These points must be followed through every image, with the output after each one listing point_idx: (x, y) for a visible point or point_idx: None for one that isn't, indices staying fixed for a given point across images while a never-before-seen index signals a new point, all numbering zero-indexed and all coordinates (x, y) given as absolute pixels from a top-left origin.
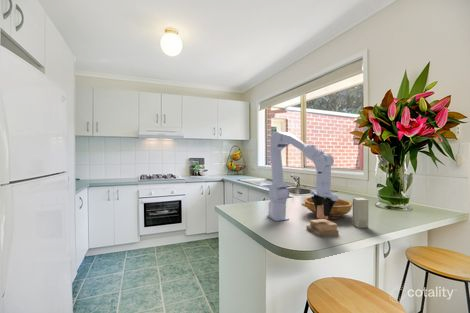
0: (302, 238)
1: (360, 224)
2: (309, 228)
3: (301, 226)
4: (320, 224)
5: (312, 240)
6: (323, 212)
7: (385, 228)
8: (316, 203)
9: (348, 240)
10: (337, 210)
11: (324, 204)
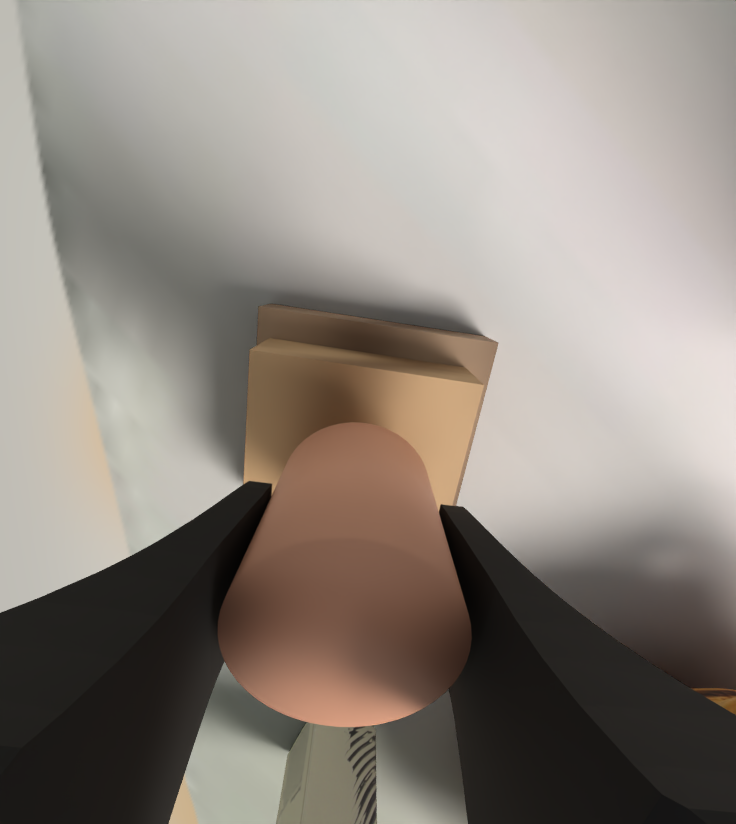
0: (312, 79)
1: (303, 747)
2: (440, 331)
3: (578, 360)
4: (293, 370)
5: (228, 150)
6: (270, 505)
7: (244, 809)
8: (510, 639)
9: (138, 464)
10: None
11: (76, 615)
